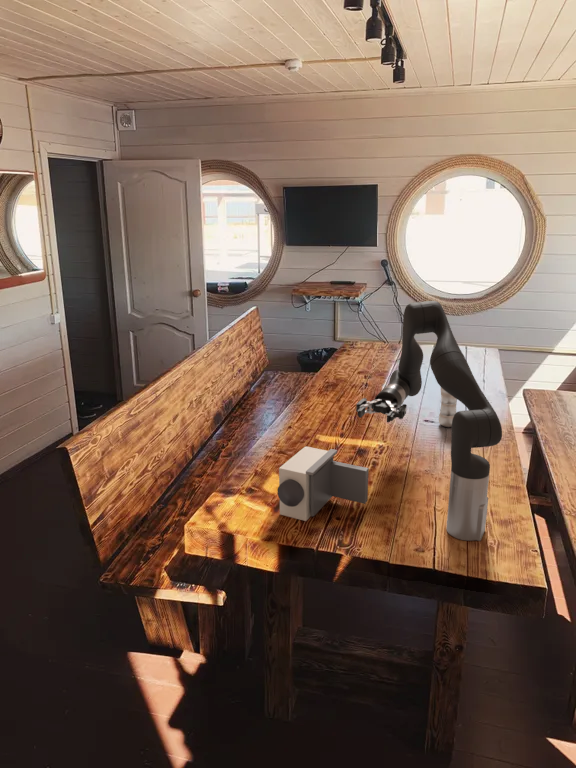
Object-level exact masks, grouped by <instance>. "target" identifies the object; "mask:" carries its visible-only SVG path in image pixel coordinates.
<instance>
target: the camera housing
mask: <svg viewBox="0 0 576 768" xmlns="http://www.w3.org/2000/svg"><path fill="white" fill-rule="evenodd" d="M337 454H338V449H334V448H333V449H332V448H330V449H329V450H326V449H321V448H316V447H311V446H304V447H303V448H302V449H300V450H299V451H298V452H296V453H295V454H294V455H293V456H292V457H290V458H289V459H288V460H287V461H285V463H283V464H282V465H281V466H280V467H279V468H278V478H279V479H278V487H277V490H276V491H277V492H276V493H277V496H278V499H279V515H280V516H285V517H288V518H292V519H296V520H301V521H304V522H307V521H308V520H309V519H310V517H312V516H311V475H312V476H313V475H314V474H315V473H316V472H317V471H318V470H319V469H320V468H321V467H323V466H324V465H325V464H326V463H327V462H328V461H329V460H330V459H331V458H332V457H333V458H334V457H335V456H336V455H337Z"/></svg>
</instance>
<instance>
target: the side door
mask: <svg viewBox="0 0 576 768" xmlns="http://www.w3.org/2000/svg"><path fill="white" fill-rule="evenodd" d="M369 470H370V469H369V467H364V466H359V465H355V464H350V463H345V462H340V461H336V460H334V456H333V457H332V458H331V459H330V460H329V461H328V462H327V463H326V464H325V465H324V466H323V467H321V468H320V469H319V470H318V471H317V472H316V473H315V474H314V475H313V476H312V475H311V516H310V517H312V518H313V517H314V516H316V515H317V514H318V513H319V511H320V510H321V509H322V508H323V507H324V506H325V505H326V504H327V503H328V501H329V500H331V498H333V497H335V498H338V499H339V498H340V499H342V500H347V501H351V502H356V503H358V504H363V505H364V504H365V505H366V503H367V502H368V498H369V497H368V496H369V493H368V491H369Z"/></svg>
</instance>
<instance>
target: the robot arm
mask: <svg viewBox="0 0 576 768" xmlns="http://www.w3.org/2000/svg"><path fill="white" fill-rule="evenodd" d="M429 333H434V334H435V335H436V337H437V338H436V339H437V340H436V343H435V345H434V348H433V349H432V352H431V355H430V359H429V366H430V369H431V371H432V374H433V376H434V378H435V382H436V383H437V384H438V385H439V387H440V389H441V388H443V389H444V390H445V391H446V392H448V393H449V394H450V395H452V396H453V397H455V398H456V399H457V401H459V402H460V403H461V404H463V405H464V406H465V408H466V409H467V410H460V411H456V414H455V415H454V417H453V420H452V427H450V428H451V430H450V431H451V432H450V435H451V437H450V438H451V442H450V443H451V444H450V460H451V461H450V463H451V467H450V481H449V490H448V491H449V492H448V503H447V504H448V506H447V517H446V531H447V533H448V534H449V535H450V536H452V537H453V538H455V539H457V540H462V541H470V542H471V541H478V542H481V541H482V538H483V536H484V533H485V531H486V525H487V516H488V506H489V497H488V490H489V482H490V481H489V480H490V473H491V472H490V471H491V470H490V469H491V464H490V462H489V460H488V459H486V458H485V457H483V456H481V455H478V454H475V453H472V449H476V448H478V449H479V448H486V447H494V446H496V445H498V444H500V442H501V440H502V437H503V429H502V424H501V420H500V418H499V416H498V415H497V413H496V411H495V409H494V407H493V406H492V404H491V403H490V402H489V399H488V398H487V397H486V395H485V394H484V392H483V391H482V390H481V388H480V385H479V384H478V381H477V380H476V378H475V376H474V375H473V374H474V373H473V372H472V371H471V367H470V365H469V362H468V361H467V359H466V357H465V355H464V354H463V352H462V349H461V348H460V346H459V344H458V343H457V340H456V338H455V336H454V334H453V331H452V328H451V326H450V323H449V320H448V318H447V315H446V312H445V309H444V308H443V305H441V303H440V302H439V301H436V300H426V301H415V302H411V303H407V305H406V306H405V308H404V311H403V317H402V335H401V336H402V339H401V340H402V341H401V353H400V358H399V362H398V365H397V366H398V367H397V369H395V370H393V371H392V374H391V375H390V378H389V384H388V385H386V386H384V388H382V390H380V391H379V393H377V395H375V398H374V399H373V400H368V399H367V398H366V397H363V398H362V399H360V400H359V401H358V402H357V403H356V407H355V409H356V410H355V412H357V414H356V415H357V417H358V418H363V416H364V415H366V414H370V415H372V414H380V413H381V414H382V415H386V423H391V422H393V421H394V420H396V419H397V418H398V419H399V420H402V419H404V417H405V416H406V415H407V407H408V406H407V404H405V400H406V399H407V398H408V397H414V396H417V395H418V394H419V393H420V391H421V389H422V384H423V381H422V374H421V373H422V372H421V368H422V365H423V362H424V352H423V349H422V347H421V345H420V344H419V343H418V341H417V340H416V338H415V335H420V334H429Z"/></svg>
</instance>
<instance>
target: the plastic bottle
mask: <svg viewBox="0 0 576 768" xmlns="http://www.w3.org/2000/svg"><path fill="white" fill-rule="evenodd" d="M440 397H441V399H440V409H439V410H440V411H439V414H438V423H439V425H441V426H442V427H447V428H452V420H453V417H454V415H455V414H456V413H457V405H458V404H457V401H458V399H456V398H455V397H453V396H452V395H450V394H449V393H448V392H446V391H445V390H444V389H443V388H441V387H440Z"/></svg>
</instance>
